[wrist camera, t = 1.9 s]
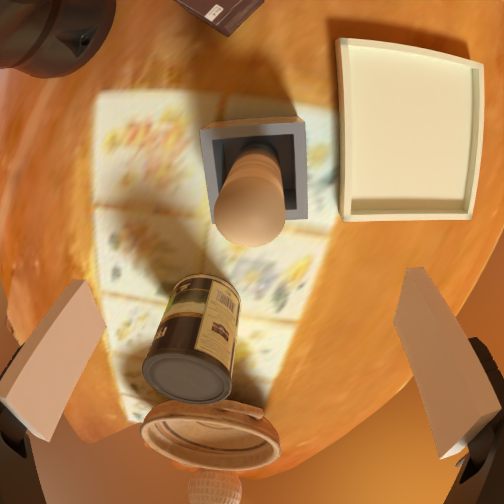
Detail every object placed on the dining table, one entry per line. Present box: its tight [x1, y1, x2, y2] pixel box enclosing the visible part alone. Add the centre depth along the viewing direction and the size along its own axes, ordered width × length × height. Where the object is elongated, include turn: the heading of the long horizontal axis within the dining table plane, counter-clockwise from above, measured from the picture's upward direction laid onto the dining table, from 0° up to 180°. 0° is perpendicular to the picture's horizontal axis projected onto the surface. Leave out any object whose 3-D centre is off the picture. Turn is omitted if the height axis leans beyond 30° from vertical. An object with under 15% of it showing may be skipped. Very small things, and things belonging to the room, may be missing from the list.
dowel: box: [213, 140, 286, 247], centre depth 25 cm, size 4×4×15 cm
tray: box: [335, 38, 484, 222], centre depth 28 cm, size 20×18×3 cm
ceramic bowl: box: [140, 399, 281, 471], centre depth 55 cm, size 37×29×10 cm
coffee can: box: [142, 274, 241, 405], centre depth 37 cm, size 10×10×14 cm
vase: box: [188, 467, 242, 504], centre depth 69 cm, size 16×16×22 cm
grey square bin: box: [199, 116, 308, 224], centre depth 29 cm, size 9×9×7 cm
